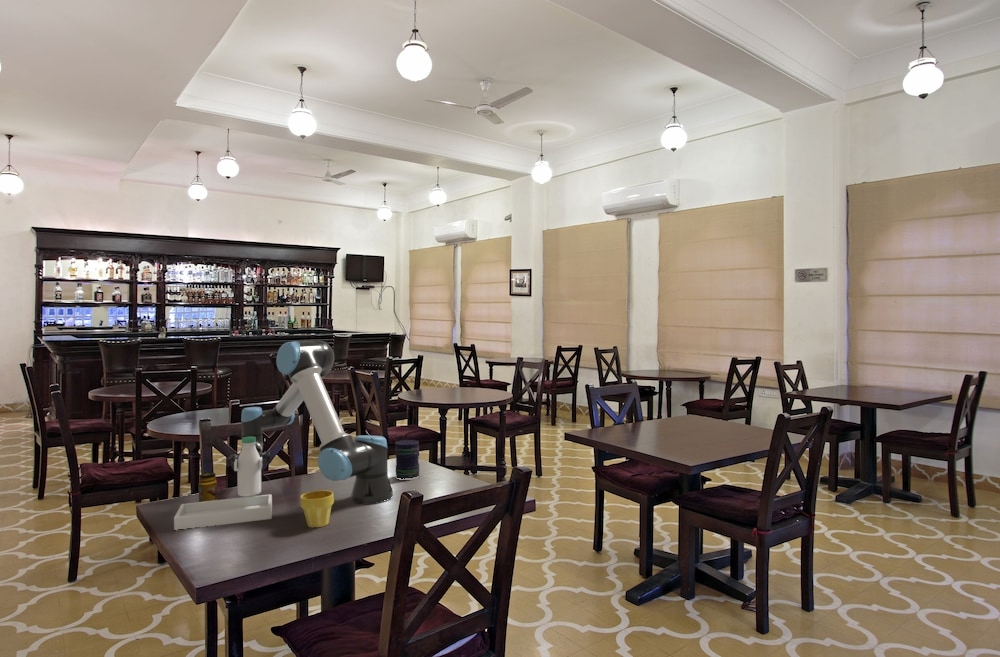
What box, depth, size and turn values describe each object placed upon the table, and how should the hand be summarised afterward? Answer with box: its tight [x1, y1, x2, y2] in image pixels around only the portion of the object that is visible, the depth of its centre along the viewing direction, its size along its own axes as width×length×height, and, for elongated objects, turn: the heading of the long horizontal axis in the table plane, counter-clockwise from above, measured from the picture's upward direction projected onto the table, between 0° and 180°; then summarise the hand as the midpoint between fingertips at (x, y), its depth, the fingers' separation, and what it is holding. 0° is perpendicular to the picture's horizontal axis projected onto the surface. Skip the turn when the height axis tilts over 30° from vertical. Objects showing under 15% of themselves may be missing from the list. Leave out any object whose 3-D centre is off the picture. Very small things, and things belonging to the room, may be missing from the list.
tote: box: [173, 493, 273, 531], centre depth 205 cm, size 29×16×4 cm, turn 110°
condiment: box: [197, 471, 218, 502], centre depth 217 cm, size 7×8×12 cm
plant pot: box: [300, 489, 335, 528], centre depth 196 cm, size 10×10×10 cm
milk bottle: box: [236, 436, 262, 497], centre depth 213 cm, size 8×8×20 cm
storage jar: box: [394, 439, 420, 479], centre depth 252 cm, size 10×10×15 cm
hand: (248, 465), depth 209 cm, fingers closed on milk bottle, 7 cm apart
